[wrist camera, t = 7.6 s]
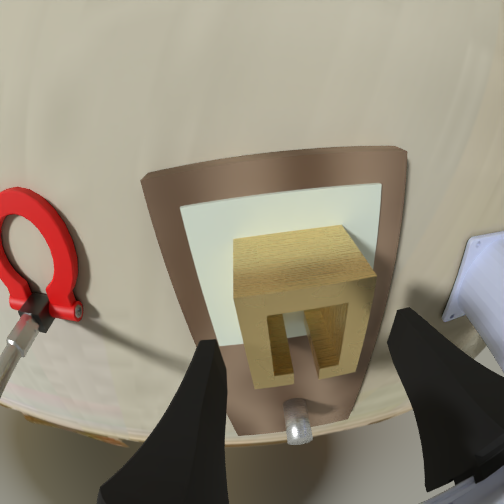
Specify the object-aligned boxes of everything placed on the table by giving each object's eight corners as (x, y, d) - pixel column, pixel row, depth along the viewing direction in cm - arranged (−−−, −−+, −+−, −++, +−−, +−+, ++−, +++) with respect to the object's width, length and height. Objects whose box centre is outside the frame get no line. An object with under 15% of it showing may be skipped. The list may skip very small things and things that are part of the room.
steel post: (305, 396, 21) (313, 435, 18) (305, 405, 22) (311, 442, 19) (282, 399, 21) (287, 439, 18) (282, 409, 22) (288, 446, 19)
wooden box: (341, 224, 12) (377, 276, 9) (335, 317, 16) (355, 371, 12) (233, 238, 12) (233, 298, 9) (250, 330, 16) (254, 389, 12)
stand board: (394, 145, 12) (407, 151, 11) (345, 410, 26) (347, 418, 25) (148, 172, 12) (140, 180, 11) (237, 426, 26) (238, 435, 25)
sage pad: (379, 182, 12) (381, 184, 11) (362, 321, 16) (363, 324, 16) (180, 206, 12) (179, 207, 12) (219, 343, 16) (219, 346, 16)
